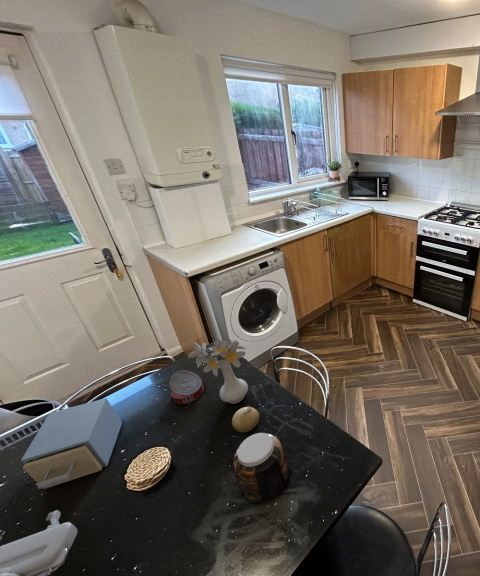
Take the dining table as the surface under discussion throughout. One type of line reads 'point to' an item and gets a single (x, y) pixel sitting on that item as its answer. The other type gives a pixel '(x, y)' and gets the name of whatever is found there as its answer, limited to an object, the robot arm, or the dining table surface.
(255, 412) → the yellow-brown oval lump
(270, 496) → the jar
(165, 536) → the dining table surface
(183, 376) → the canned food
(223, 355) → the flower vase
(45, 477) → the beige drawer
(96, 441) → the drawer casing
